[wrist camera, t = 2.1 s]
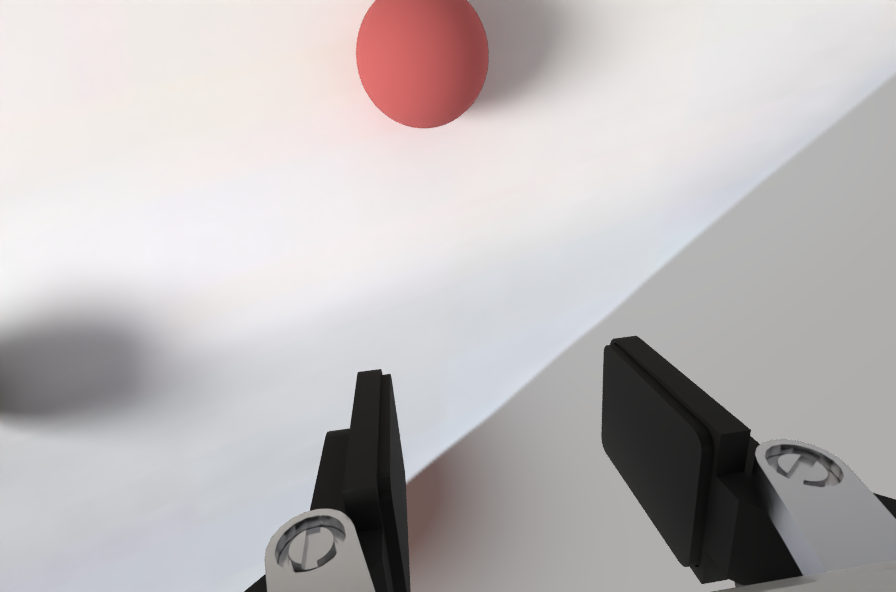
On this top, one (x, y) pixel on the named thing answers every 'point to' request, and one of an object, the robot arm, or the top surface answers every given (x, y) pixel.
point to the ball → (422, 59)
